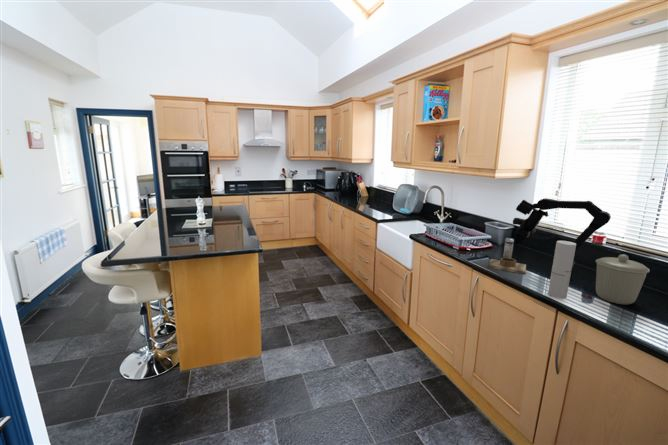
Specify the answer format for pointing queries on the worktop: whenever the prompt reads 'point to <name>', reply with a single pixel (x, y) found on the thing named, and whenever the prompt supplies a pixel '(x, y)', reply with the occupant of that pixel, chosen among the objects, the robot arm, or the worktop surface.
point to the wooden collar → (508, 262)
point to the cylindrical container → (561, 269)
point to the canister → (619, 279)
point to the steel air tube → (508, 248)
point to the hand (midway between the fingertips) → (517, 242)
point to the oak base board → (518, 269)
